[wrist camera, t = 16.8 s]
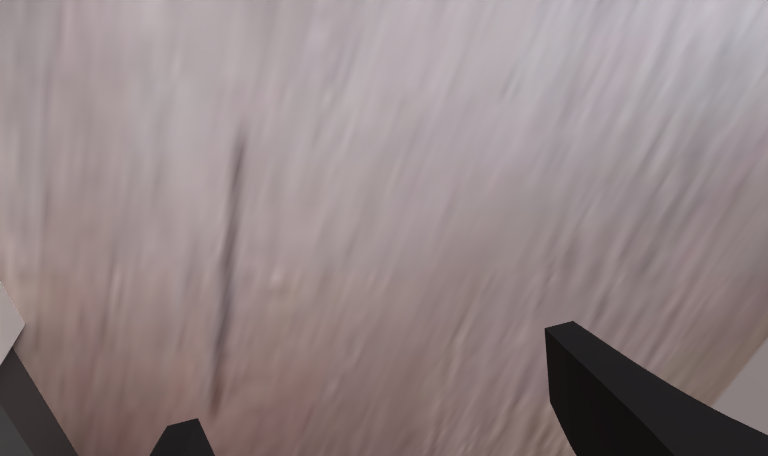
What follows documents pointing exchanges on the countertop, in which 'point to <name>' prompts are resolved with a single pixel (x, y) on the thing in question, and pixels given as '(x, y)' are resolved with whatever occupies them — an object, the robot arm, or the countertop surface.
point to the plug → (23, 399)
